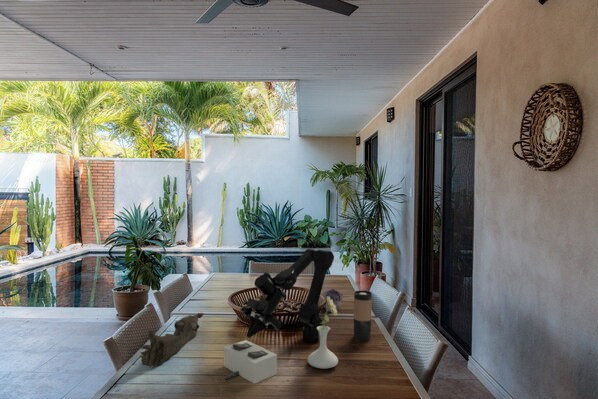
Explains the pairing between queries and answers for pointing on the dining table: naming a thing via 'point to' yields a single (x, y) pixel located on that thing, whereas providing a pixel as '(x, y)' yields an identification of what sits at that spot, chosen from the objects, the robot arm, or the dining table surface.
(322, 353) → the flower in vase
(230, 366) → the box
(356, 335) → the travel mug
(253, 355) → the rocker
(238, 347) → the rocker
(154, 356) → the driftwood
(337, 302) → the geode
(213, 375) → the dining table surface
